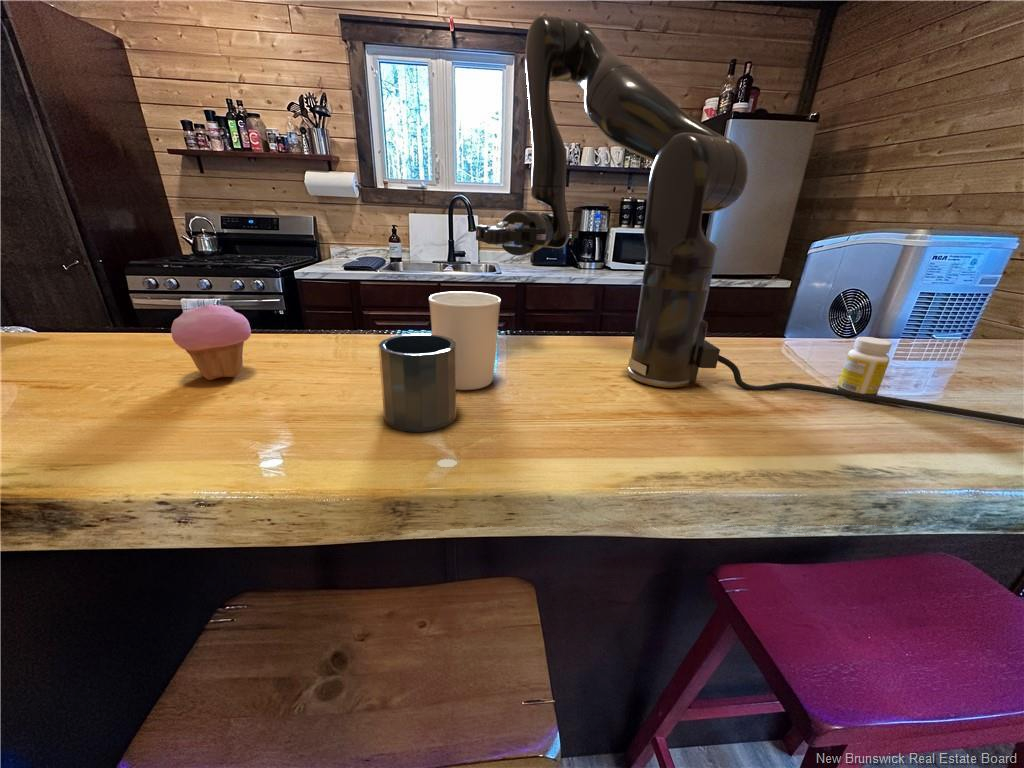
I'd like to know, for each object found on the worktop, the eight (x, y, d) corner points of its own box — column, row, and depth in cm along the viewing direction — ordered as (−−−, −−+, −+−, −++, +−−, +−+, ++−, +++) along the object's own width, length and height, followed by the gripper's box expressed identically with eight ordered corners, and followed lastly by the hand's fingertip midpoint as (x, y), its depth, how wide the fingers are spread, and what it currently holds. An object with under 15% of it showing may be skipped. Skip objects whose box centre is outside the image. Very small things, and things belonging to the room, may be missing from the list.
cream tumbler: (502, 370, 68) (504, 293, 63) (493, 395, 59) (495, 307, 54) (440, 366, 69) (438, 289, 64) (422, 389, 60) (419, 302, 55)
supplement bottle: (870, 392, 66) (890, 338, 63) (879, 403, 62) (901, 347, 59) (832, 386, 68) (850, 334, 64) (839, 397, 64) (858, 341, 60)
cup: (458, 402, 56) (458, 334, 53) (452, 433, 48) (452, 356, 45) (393, 400, 56) (388, 332, 53) (376, 431, 48) (370, 354, 45)
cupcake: (255, 362, 67) (243, 297, 63) (261, 380, 60) (248, 309, 56) (184, 371, 62) (166, 301, 58) (182, 392, 56) (162, 315, 52)
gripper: (491, 209, 81) (451, 208, 66) (560, 212, 78) (535, 212, 62) (490, 251, 84) (451, 259, 69) (557, 256, 80) (532, 266, 65)
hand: (491, 236), depth 65 cm, fingers closed
